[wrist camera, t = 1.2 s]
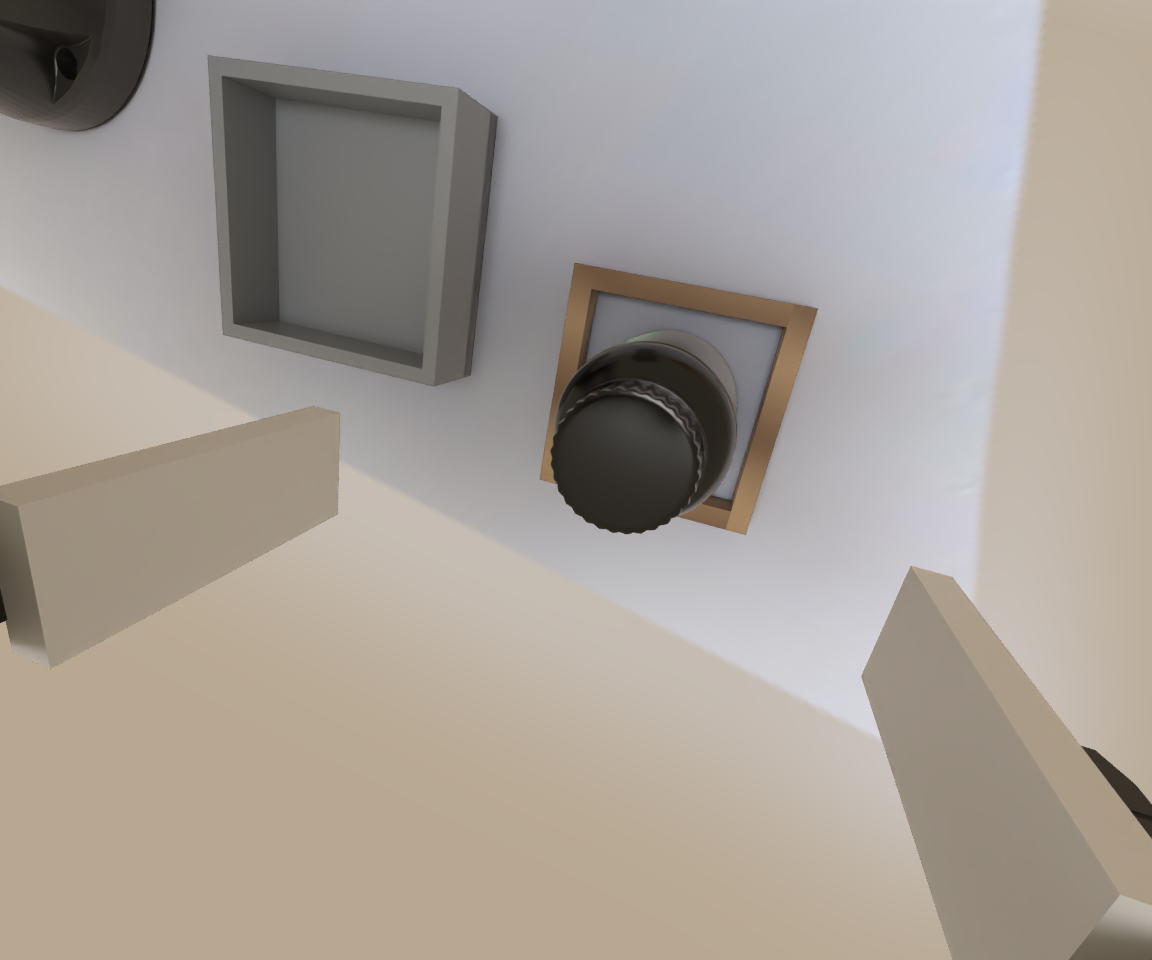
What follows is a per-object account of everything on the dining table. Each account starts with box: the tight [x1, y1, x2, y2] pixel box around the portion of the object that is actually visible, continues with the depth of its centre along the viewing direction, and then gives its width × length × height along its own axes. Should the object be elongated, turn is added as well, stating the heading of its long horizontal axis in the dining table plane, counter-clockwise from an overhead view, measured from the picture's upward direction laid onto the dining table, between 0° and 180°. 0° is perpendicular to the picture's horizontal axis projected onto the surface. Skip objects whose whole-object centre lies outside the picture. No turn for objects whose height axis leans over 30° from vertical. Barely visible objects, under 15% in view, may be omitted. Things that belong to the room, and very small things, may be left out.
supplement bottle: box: [550, 330, 737, 534], centre depth 23 cm, size 7×7×12 cm
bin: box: [208, 55, 497, 386], centre depth 28 cm, size 12×12×4 cm
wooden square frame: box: [540, 263, 818, 535], centre depth 27 cm, size 11×11×2 cm
